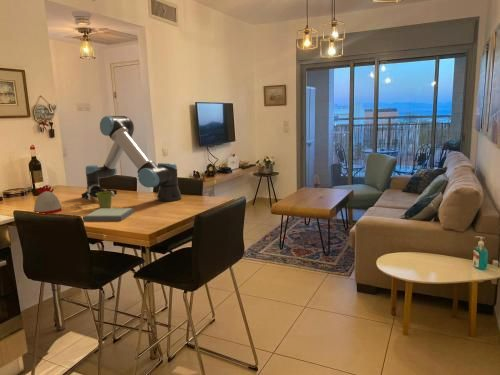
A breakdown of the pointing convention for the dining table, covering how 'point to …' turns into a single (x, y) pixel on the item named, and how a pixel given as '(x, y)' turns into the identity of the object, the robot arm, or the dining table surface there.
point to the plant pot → (104, 199)
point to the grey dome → (47, 202)
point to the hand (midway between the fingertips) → (101, 196)
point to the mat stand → (109, 214)
